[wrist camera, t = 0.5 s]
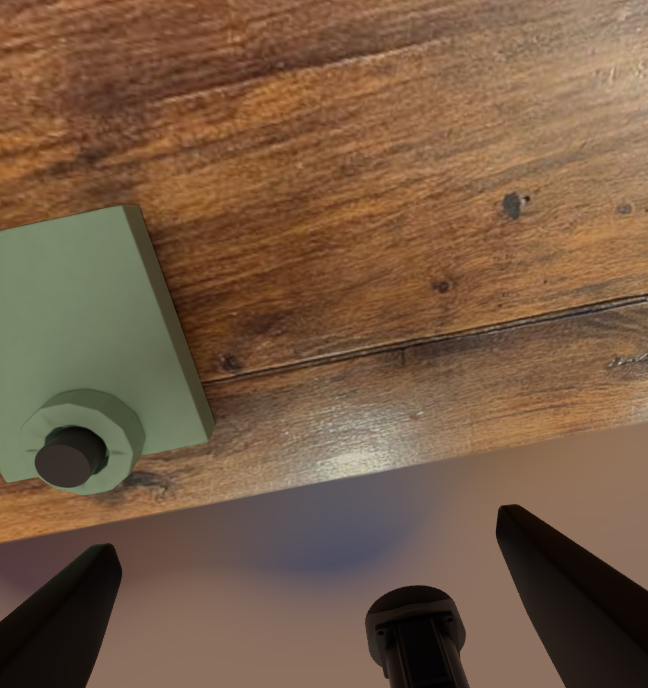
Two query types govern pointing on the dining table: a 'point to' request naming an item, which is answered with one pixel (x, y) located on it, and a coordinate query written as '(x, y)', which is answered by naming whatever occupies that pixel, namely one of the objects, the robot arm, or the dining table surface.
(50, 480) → the button
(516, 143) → the dining table surface
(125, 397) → the scale
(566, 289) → the dining table surface
